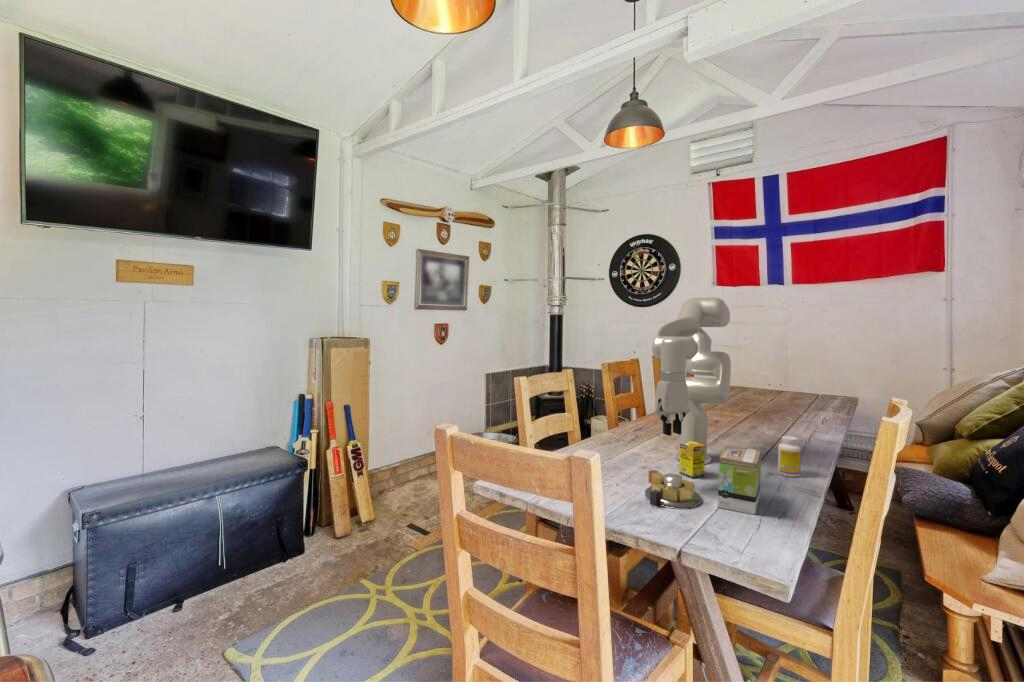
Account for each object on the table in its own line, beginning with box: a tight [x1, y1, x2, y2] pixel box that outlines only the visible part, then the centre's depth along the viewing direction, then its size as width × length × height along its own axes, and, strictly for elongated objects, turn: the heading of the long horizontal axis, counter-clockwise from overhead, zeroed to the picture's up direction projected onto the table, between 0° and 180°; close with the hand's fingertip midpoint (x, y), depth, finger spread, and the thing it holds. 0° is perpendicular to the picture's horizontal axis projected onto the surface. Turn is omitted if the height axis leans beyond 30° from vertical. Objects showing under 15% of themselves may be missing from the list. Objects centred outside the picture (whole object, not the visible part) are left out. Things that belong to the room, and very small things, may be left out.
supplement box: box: [678, 441, 706, 479], centre depth 158 cm, size 6×6×11 cm
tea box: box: [717, 445, 762, 515], centre depth 134 cm, size 15×10×15 cm
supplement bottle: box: [777, 435, 802, 478], centre depth 158 cm, size 7×7×13 cm
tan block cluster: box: [648, 469, 696, 502], centre depth 140 cm, size 16×12×4 cm
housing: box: [644, 473, 702, 509], centre depth 138 cm, size 16×18×6 cm
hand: (672, 433), depth 146 cm, fingers open, 3 cm apart
